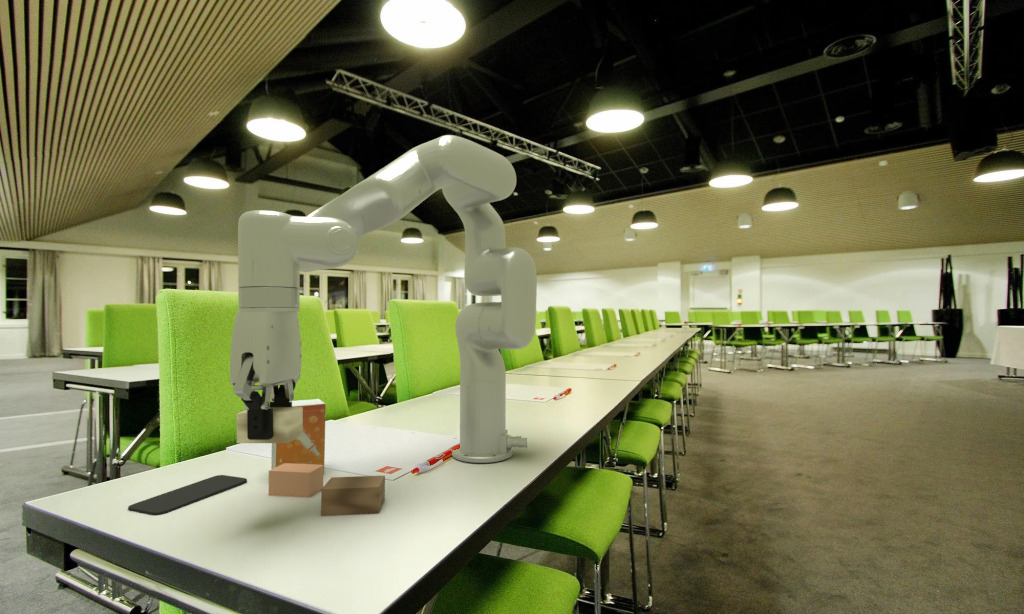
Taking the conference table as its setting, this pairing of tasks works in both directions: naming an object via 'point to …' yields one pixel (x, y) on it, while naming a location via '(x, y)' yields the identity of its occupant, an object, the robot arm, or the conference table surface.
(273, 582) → the conference table surface
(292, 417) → the ash brick
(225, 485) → the phone
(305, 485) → the terracotta brick
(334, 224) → the robot arm
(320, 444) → the small box
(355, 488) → the walnut brick
